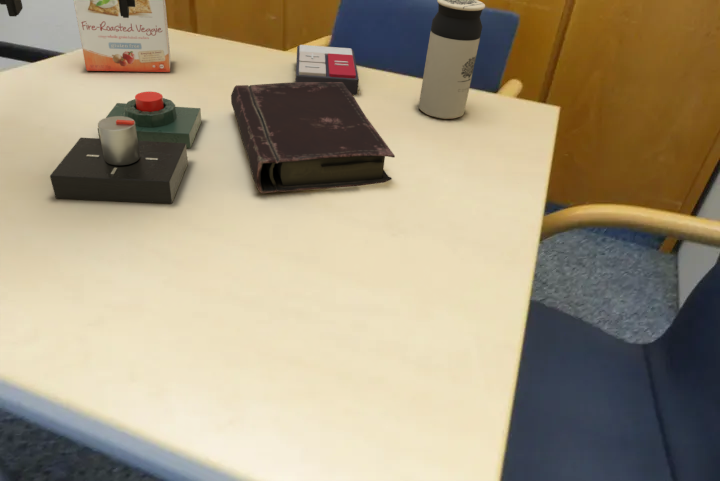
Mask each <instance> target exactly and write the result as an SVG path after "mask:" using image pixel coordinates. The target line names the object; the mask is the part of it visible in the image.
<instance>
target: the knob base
mask: <svg viewBox="0 0 720 481" xmlns="http://www.w3.org/2000/svg"><path fill="white" fill-rule="evenodd" d="M138 145H139V152H140V159H139V160H138V161H136V162H135V163H132V164H129V165H121V166H119V165H111V164H109V163H107V162H106V161H105V160H104V155H103V150H102V144H101V139H99V137H96V138H95V137H79V139H78V140H77V141H76V143H75V144H74V145H73V146H72V148H70V150H69V151H68V152H67V154H66V155H65V156H64V158H63V159H62V160H61V161H60V163H58V165H57V166H56V167H55V168H54V169H53V171H52V172H51V174H50V175H49V178H50V182H51V186H52V190H53V193H54V198H55V199H56V200H57V199H59V200H81V201H82V200H83V201H101V202H102V201H103V202H104V201H106V202H124V203H125V202H127V203H147V204H149V203H151V204H169V205H170V204H171V205H172V204H173V201H174V199H175V197H176V194H177V192H178V189H179V187H180V184H181V182H182V180H183V177H184V175H185V172H186V170H187V167H188V164H189V161H188V151H187V149H188V148H186V143H170V142H152V141H138Z"/></svg>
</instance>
